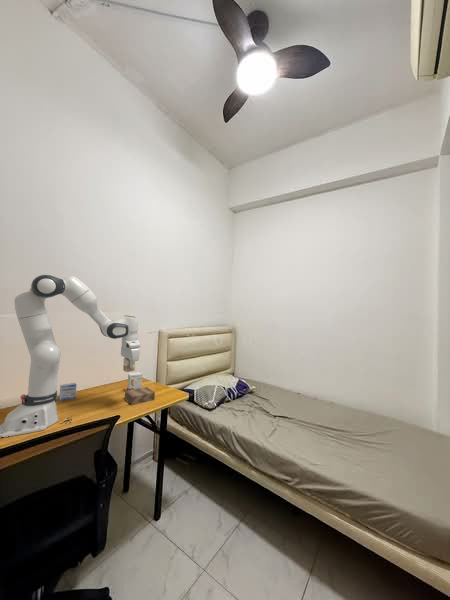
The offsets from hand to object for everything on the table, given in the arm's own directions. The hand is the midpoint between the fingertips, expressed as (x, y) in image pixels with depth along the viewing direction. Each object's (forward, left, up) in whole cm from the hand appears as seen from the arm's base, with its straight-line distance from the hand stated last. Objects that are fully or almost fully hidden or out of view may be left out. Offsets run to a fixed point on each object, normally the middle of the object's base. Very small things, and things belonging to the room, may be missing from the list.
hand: (129, 366), depth 140 cm
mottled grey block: (0, 0, -3) cm, 3 cm away
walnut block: (+9, +3, -23) cm, 24 cm away
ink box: (+12, +19, -23) cm, 31 cm away
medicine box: (-25, +29, -23) cm, 44 cm away
